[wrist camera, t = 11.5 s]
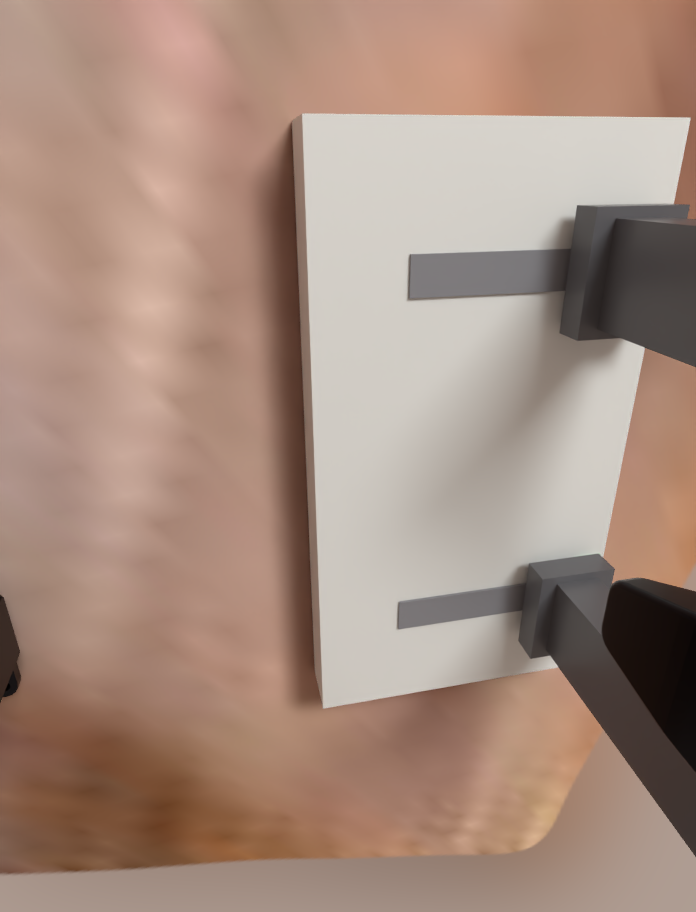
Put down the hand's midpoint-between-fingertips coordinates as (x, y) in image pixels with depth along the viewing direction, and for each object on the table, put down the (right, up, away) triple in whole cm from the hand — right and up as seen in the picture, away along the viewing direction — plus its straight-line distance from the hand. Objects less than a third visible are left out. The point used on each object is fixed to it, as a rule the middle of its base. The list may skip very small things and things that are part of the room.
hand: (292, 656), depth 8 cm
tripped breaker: (+9, -3, +15) cm, 18 cm away
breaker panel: (+5, +3, +14) cm, 15 cm away
